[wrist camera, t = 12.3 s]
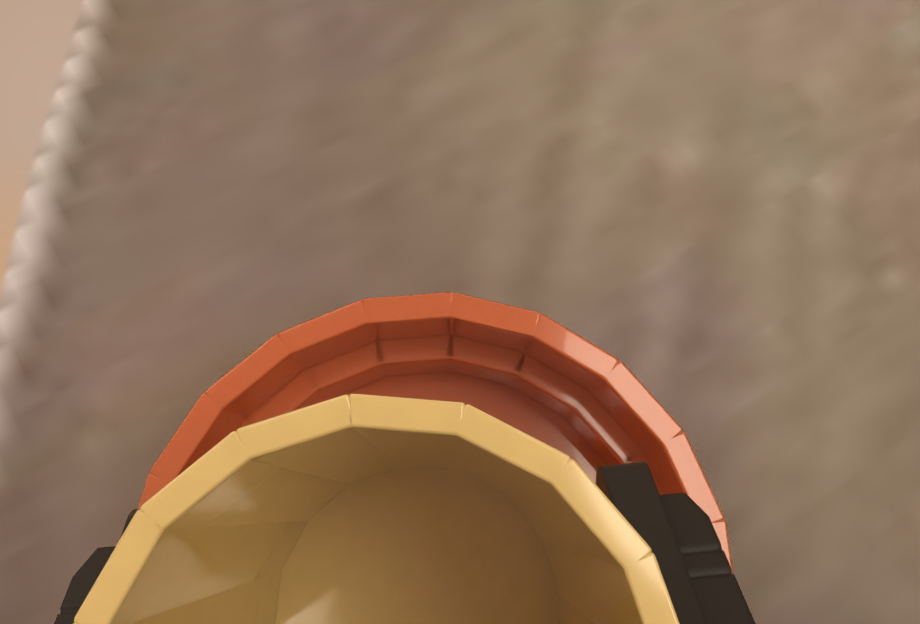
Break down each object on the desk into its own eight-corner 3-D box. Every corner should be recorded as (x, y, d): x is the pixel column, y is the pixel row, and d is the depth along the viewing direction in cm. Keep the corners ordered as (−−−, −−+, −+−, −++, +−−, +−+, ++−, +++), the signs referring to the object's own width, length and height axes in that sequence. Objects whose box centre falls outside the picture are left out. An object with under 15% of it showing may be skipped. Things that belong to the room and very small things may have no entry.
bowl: (462, 245, 25) (461, 183, 20) (781, 603, 23) (866, 630, 18) (93, 546, 23) (-4, 558, 19) (402, 968, 21) (383, 1107, 16)
